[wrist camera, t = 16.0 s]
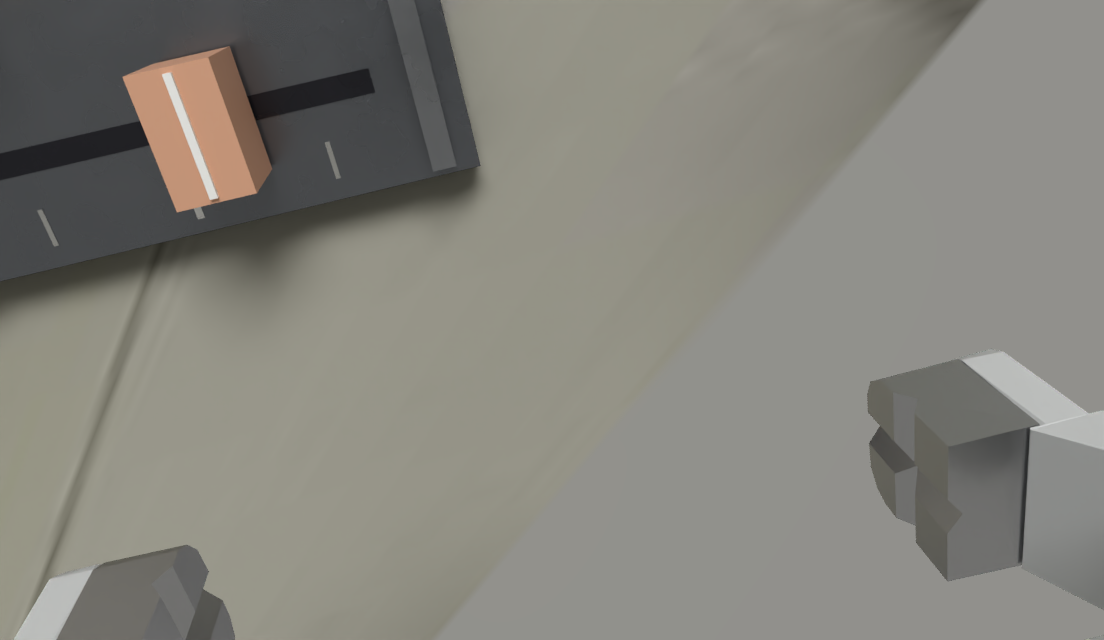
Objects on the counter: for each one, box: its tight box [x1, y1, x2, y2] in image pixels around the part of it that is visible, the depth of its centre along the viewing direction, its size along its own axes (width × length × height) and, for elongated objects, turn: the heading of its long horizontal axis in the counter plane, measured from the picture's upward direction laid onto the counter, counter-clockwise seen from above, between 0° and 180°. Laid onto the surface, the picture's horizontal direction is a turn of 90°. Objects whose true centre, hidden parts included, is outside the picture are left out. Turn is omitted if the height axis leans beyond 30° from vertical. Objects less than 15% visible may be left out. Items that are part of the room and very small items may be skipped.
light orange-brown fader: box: [123, 46, 272, 212], centre depth 33 cm, size 3×5×4 cm, turn 12°
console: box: [0, 0, 480, 281], centre depth 34 cm, size 24×17×3 cm
